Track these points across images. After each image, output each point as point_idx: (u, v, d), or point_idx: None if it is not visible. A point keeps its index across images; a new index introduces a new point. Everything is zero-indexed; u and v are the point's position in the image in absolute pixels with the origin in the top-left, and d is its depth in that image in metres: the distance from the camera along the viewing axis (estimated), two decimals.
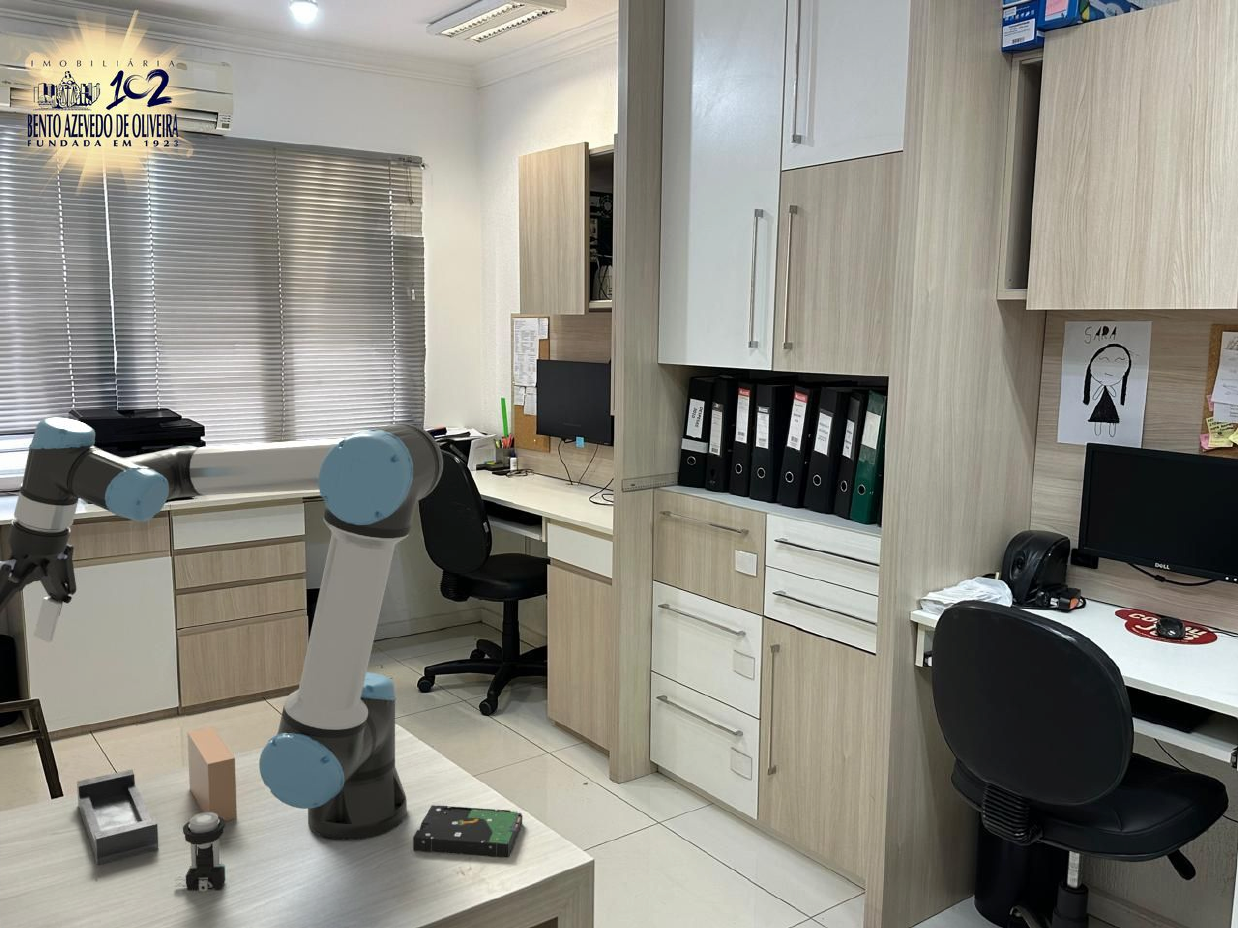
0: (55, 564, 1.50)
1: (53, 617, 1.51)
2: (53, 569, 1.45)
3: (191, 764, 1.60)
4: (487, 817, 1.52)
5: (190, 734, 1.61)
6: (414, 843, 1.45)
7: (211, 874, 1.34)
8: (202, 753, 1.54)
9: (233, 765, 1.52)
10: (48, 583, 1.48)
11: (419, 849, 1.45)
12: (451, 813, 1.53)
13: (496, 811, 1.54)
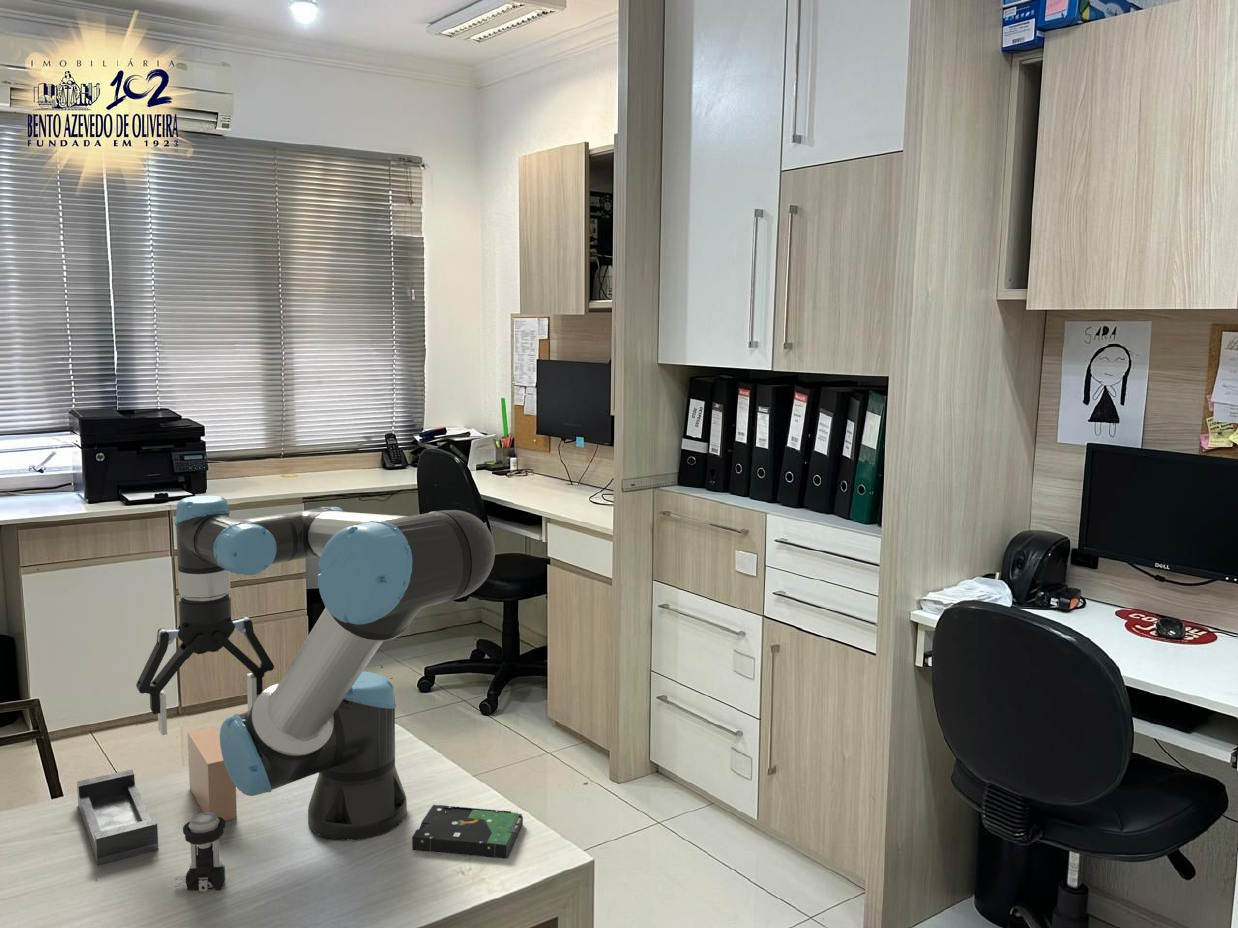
0: (247, 639, 1.59)
1: (251, 692, 1.59)
2: (226, 641, 1.55)
3: (191, 764, 1.60)
4: (487, 817, 1.52)
5: (190, 734, 1.61)
6: (413, 842, 1.45)
7: (211, 874, 1.34)
8: (202, 753, 1.54)
9: None
10: None
11: (418, 848, 1.46)
12: (452, 813, 1.53)
13: (497, 812, 1.54)
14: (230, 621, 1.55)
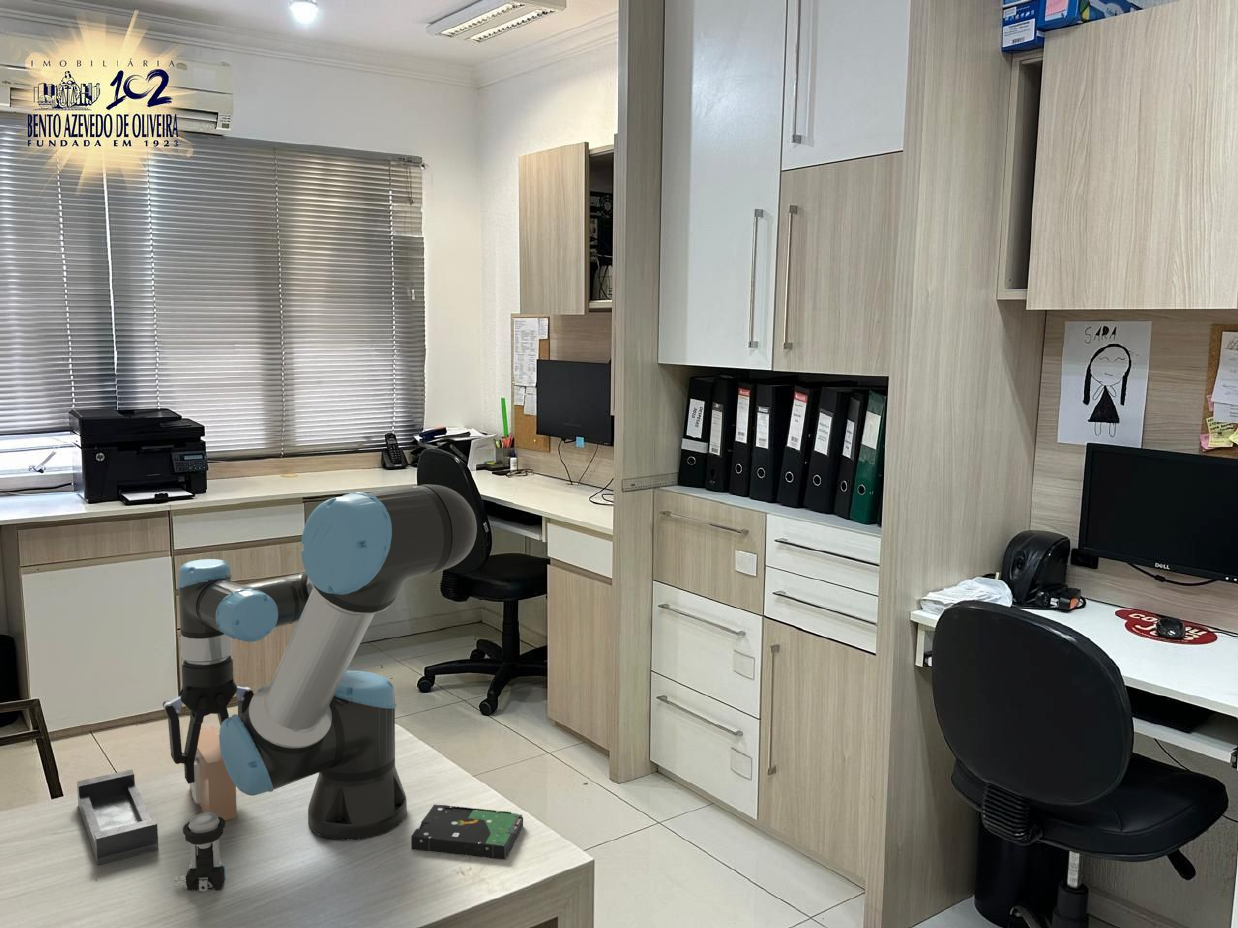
0: (238, 710, 1.60)
1: None
2: (224, 706, 1.56)
3: None
4: (487, 818, 1.51)
5: None
6: (412, 842, 1.46)
7: (211, 874, 1.34)
8: (202, 752, 1.54)
9: None
10: None
11: (417, 848, 1.46)
12: (453, 813, 1.53)
13: (497, 812, 1.53)
14: (235, 684, 1.57)
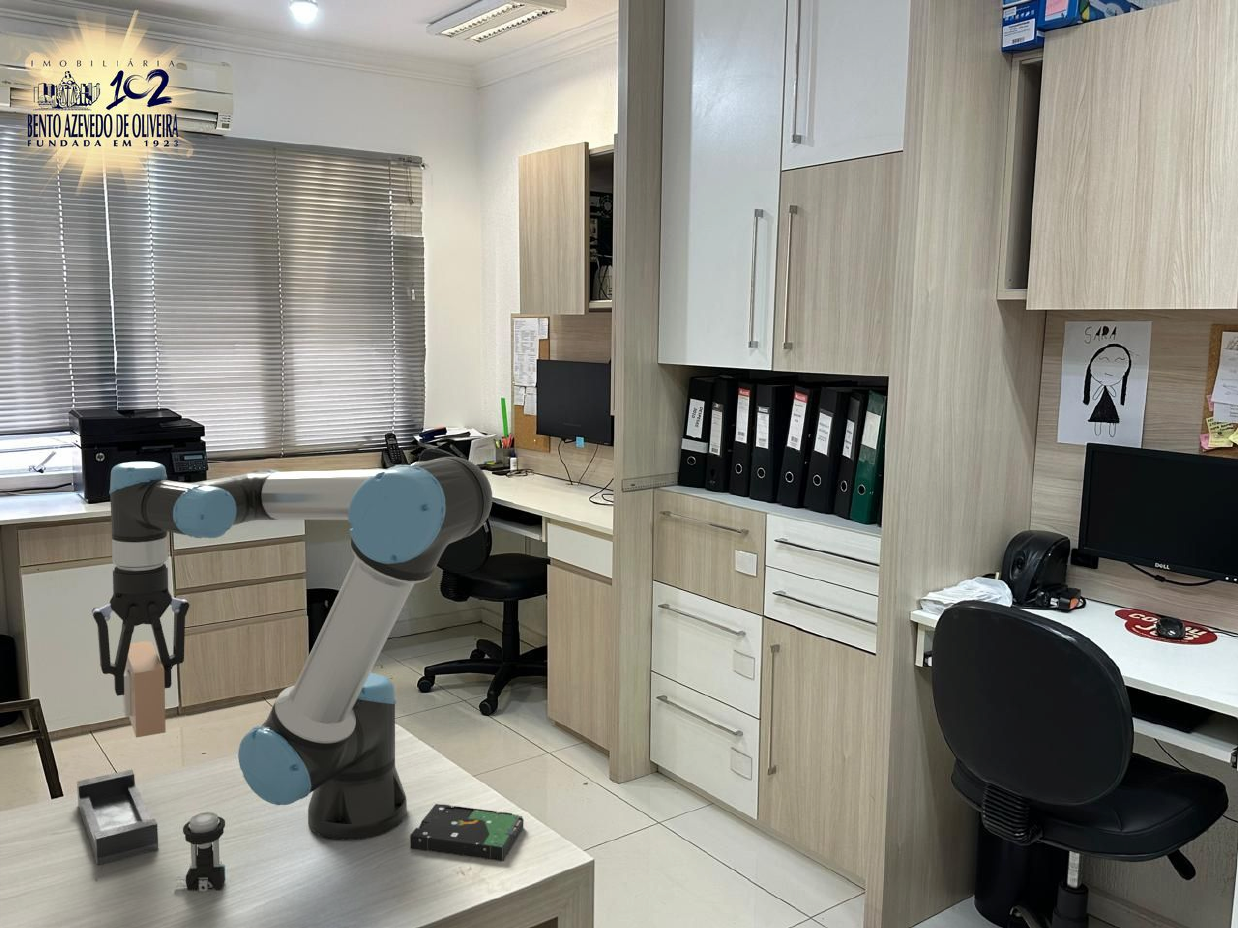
0: (174, 623, 1.53)
1: None
2: (157, 617, 1.49)
3: None
4: (487, 819, 1.51)
5: None
6: (411, 841, 1.46)
7: (211, 874, 1.34)
8: (132, 663, 1.47)
9: (162, 676, 1.45)
10: (155, 638, 1.50)
11: (416, 847, 1.46)
12: (454, 813, 1.53)
13: (497, 813, 1.53)
14: (170, 595, 1.50)
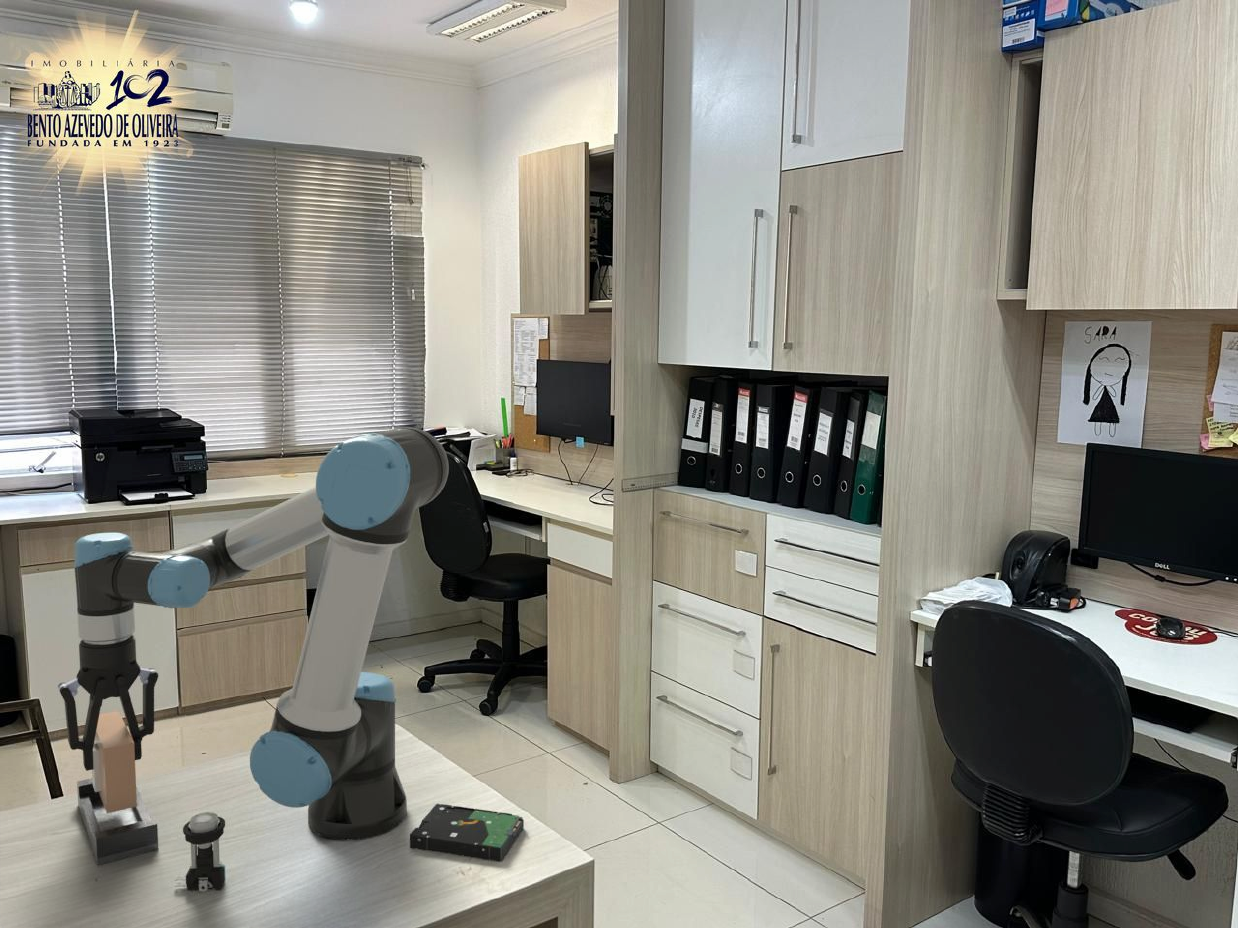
0: (143, 693, 1.51)
1: None
2: (125, 689, 1.47)
3: None
4: (487, 819, 1.51)
5: None
6: (410, 840, 1.46)
7: (211, 874, 1.34)
8: (100, 737, 1.45)
9: (132, 750, 1.44)
10: (124, 710, 1.49)
11: (415, 847, 1.46)
12: (454, 813, 1.53)
13: (498, 814, 1.53)
14: (138, 666, 1.48)
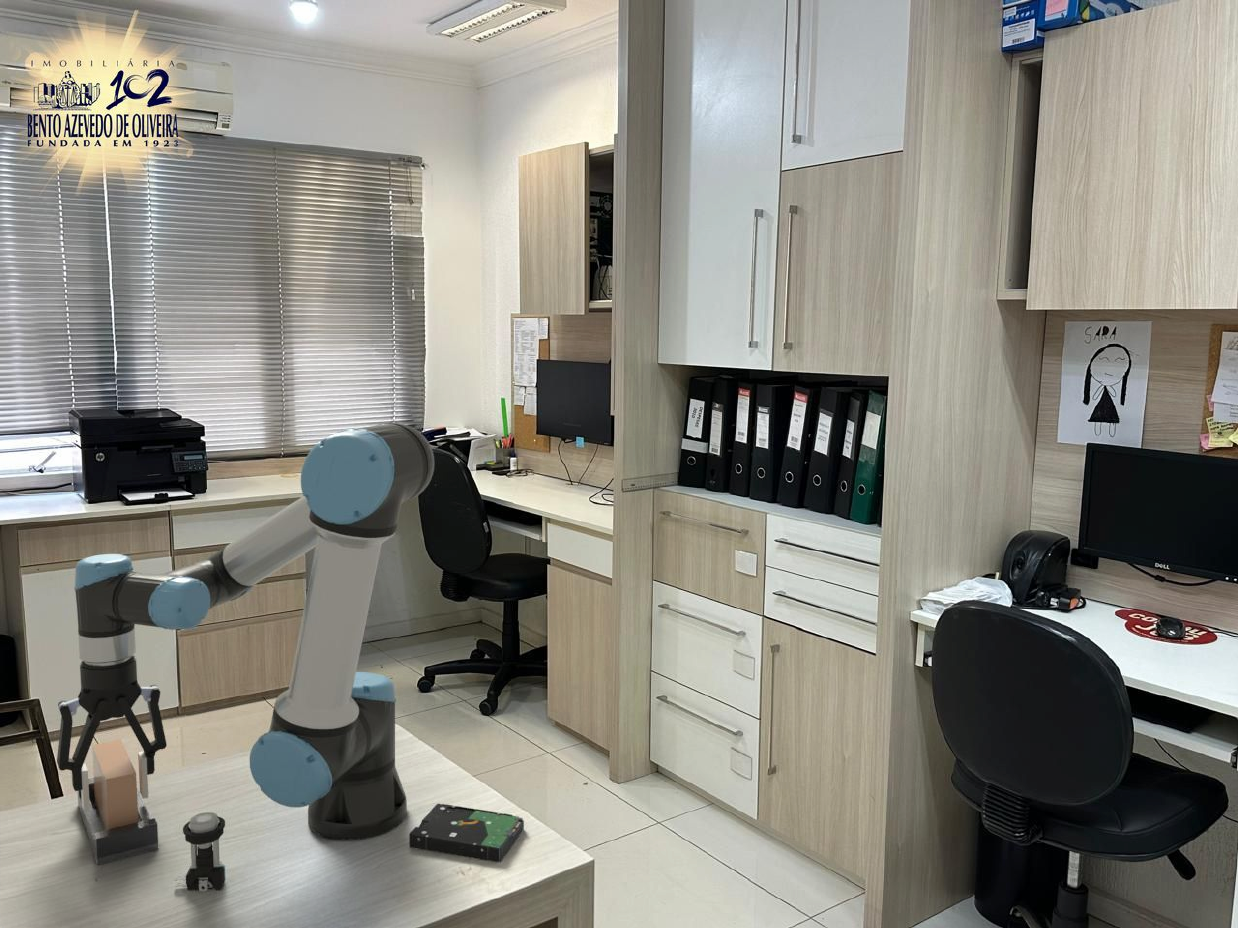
0: (149, 710, 1.52)
1: (141, 772, 1.50)
2: (128, 708, 1.48)
3: (95, 778, 1.52)
4: (487, 819, 1.51)
5: (94, 747, 1.52)
6: (410, 840, 1.46)
7: (211, 874, 1.34)
8: (102, 768, 1.46)
9: (134, 780, 1.44)
10: None
11: (415, 846, 1.46)
12: (454, 813, 1.53)
13: (498, 814, 1.53)
14: (138, 686, 1.49)
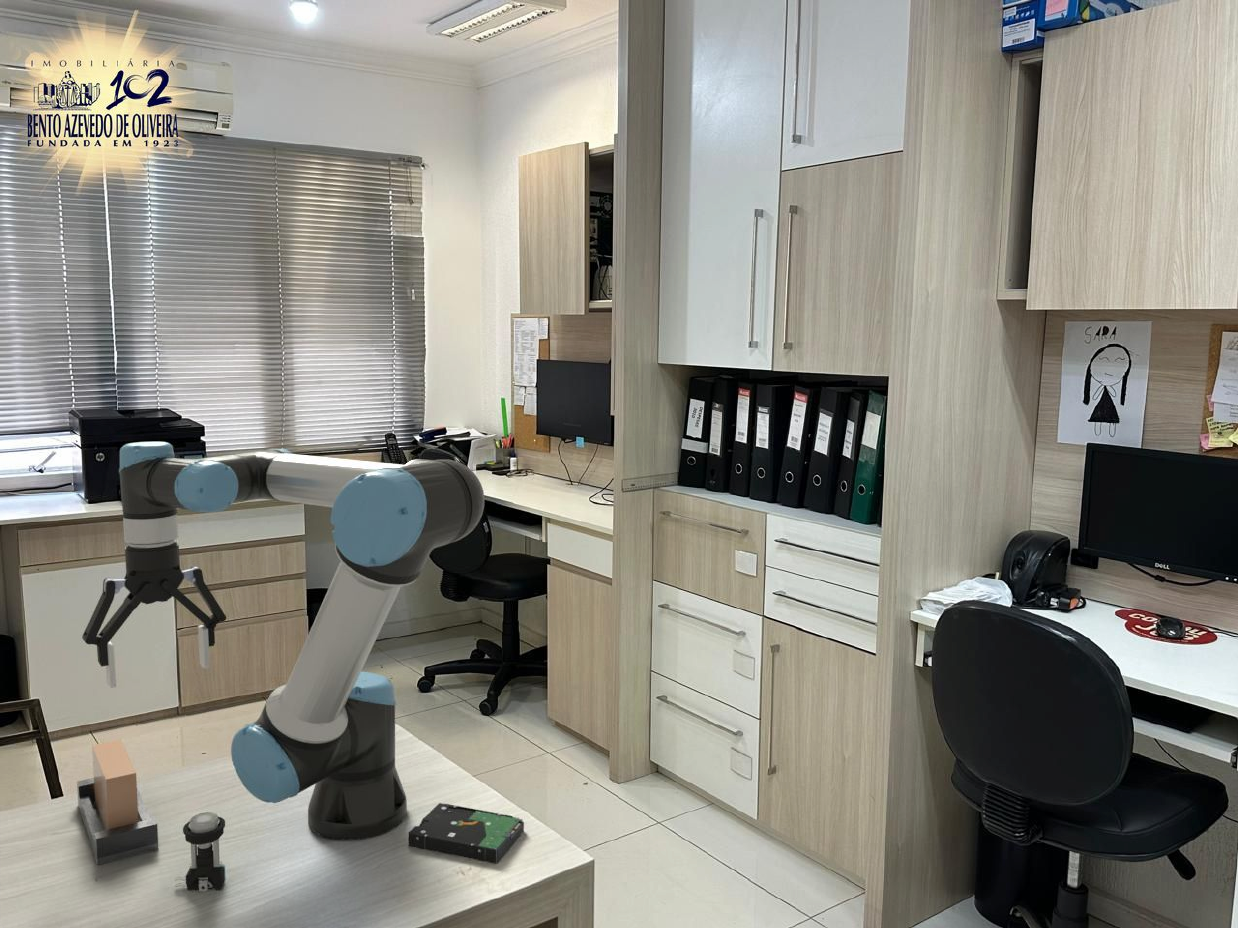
0: None
1: (203, 643, 1.55)
2: (175, 590, 1.51)
3: (95, 778, 1.52)
4: (487, 820, 1.51)
5: (94, 747, 1.52)
6: (409, 839, 1.47)
7: (211, 874, 1.34)
8: (102, 768, 1.46)
9: (134, 780, 1.44)
10: None
11: (414, 845, 1.46)
12: (455, 813, 1.53)
13: (498, 815, 1.52)
14: (179, 570, 1.52)
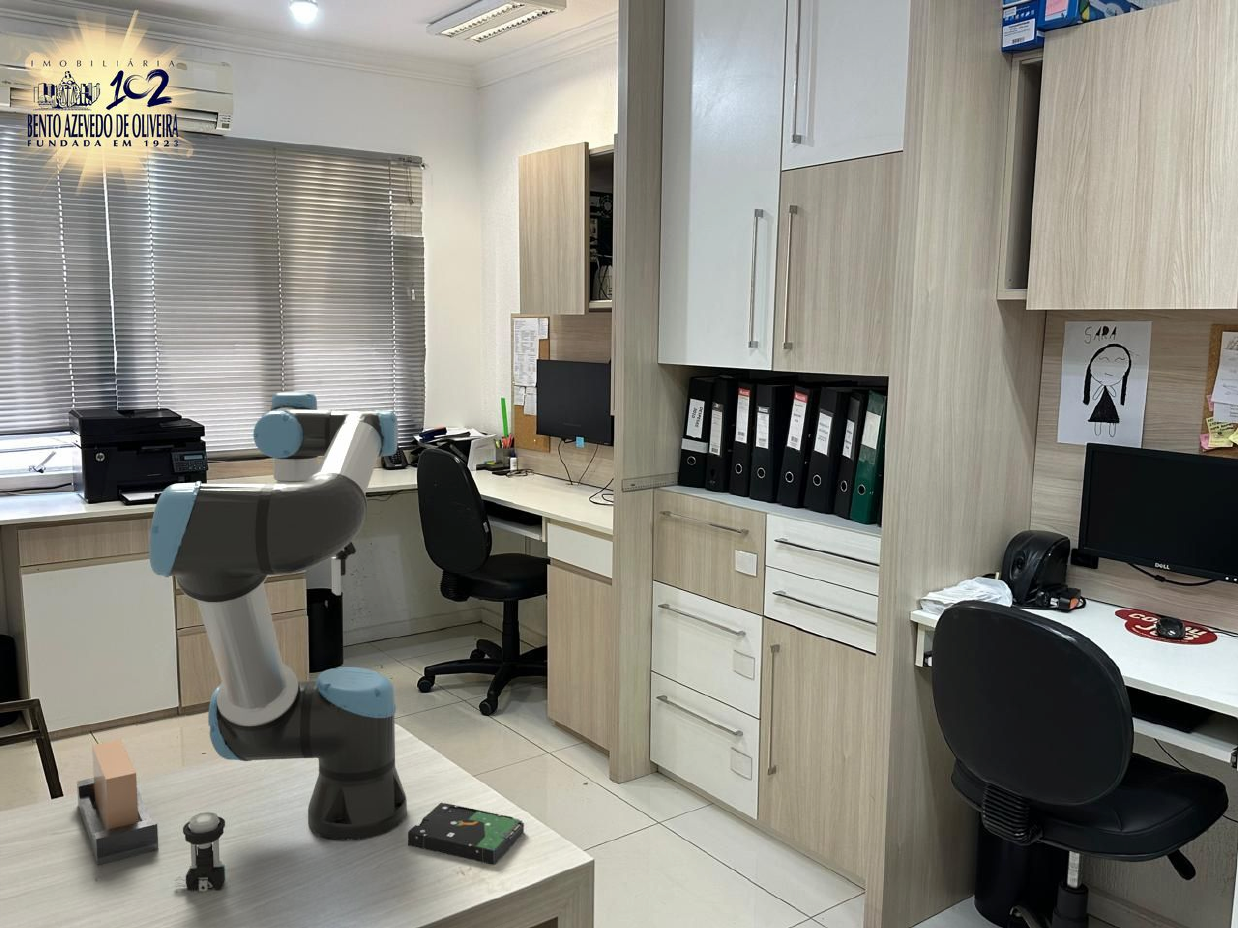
0: None
1: (336, 572, 1.76)
2: None
3: (95, 778, 1.52)
4: (487, 821, 1.51)
5: (94, 747, 1.52)
6: (408, 838, 1.47)
7: (211, 874, 1.34)
8: (102, 768, 1.46)
9: (134, 780, 1.44)
10: None
11: (413, 844, 1.47)
12: (456, 813, 1.53)
13: (499, 816, 1.52)
14: None
